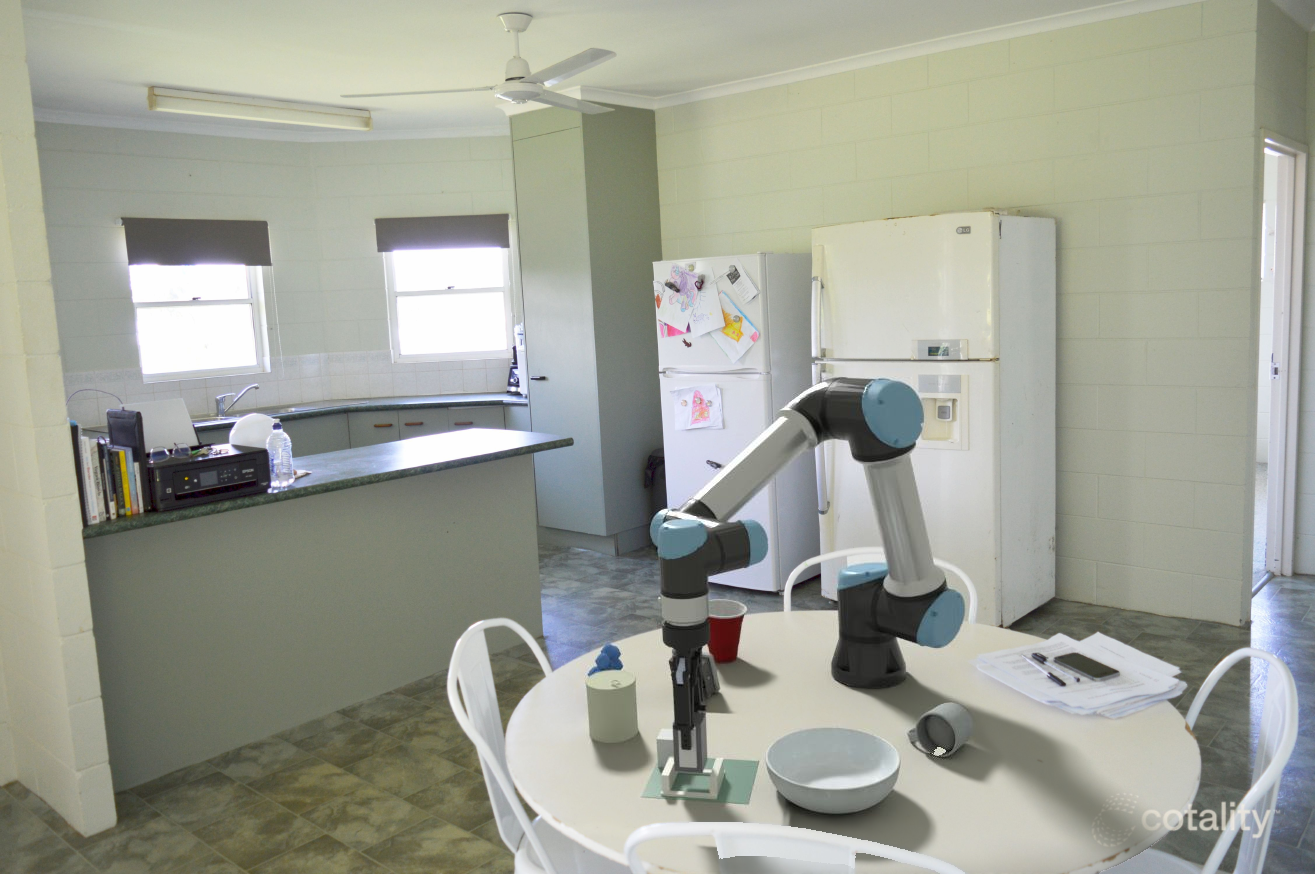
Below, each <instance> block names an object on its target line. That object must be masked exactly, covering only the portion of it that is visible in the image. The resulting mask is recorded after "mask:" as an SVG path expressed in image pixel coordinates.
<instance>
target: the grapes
mask: <svg viewBox="0 0 1315 874" xmlns="http://www.w3.org/2000/svg"><path fill="white" fill-rule="evenodd" d="M621 655H622V653H621V651H620V649H619V648H618V646H616V645H613V644H611V643H607V644H605V645H604V646H603V647H602V649H601V650H600V653H599V654H598V655H597V657H596V659H595V660H594V662H595V665H596V666H593V667H592V668H591V669H590V670H589V671H588V673H587V678H588V677H589V676H591V675H592V674H595V673H598V672H601V671H607V670H622V669H623V667H624V665H623V661H622V660H621V659H620V657H621Z"/></svg>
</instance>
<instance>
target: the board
mask: <svg viewBox="0 0 1315 874" xmlns="http://www.w3.org/2000/svg"><path fill="white" fill-rule="evenodd" d="M759 762H760V761H759V760H752V759H750V760H748V759H735V758H734V759H733V758H732V759H729V758H724V757H716V758H714V757H707V762H706V765H705V768H704V770H703V773H696V772H682V771H675V766H674V755H670V757H669V759H668V761H667V763H666V766H665V768H663V767H658V761H657V762H656V764H655V767H654V768H653V771H651V772H652V773H651V775H650V777H649V780H648V781H647V783H646V786H645V788H644V790H643V792H642V794H641V796H640V798H648V799H650V798H652V799H664V800H666V799H667V800H679V801H680V800H682V801H692V802H696V801H697V802H708V803H709V802H710V803H723V804H724V803H725V804H740V805H741V804H742V805H749V803H750V798H751V795H752V791H753V787H754V783H755V779H756V775H757V771H758V769H759V768H758V766H759V764H760V763H759Z"/></svg>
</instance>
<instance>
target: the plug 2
mask: <svg viewBox="0 0 1315 874" xmlns="http://www.w3.org/2000/svg"><path fill="white" fill-rule="evenodd" d="M674 724H675V722H674V721H673V722H672V726H673V725H674ZM694 727H696V746H697V768H690V767H680V763H679V741H678V730H675V729H673V728H672V729H673V751H674V766H675V771H682V772H696V773H703V770H704V768H705V765H706V762H707V758H708V738H707V736H708V735H707V732H708V731H707V713H706V712H700V711H699V712H694Z"/></svg>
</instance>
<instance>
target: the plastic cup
mask: <svg viewBox="0 0 1315 874" xmlns="http://www.w3.org/2000/svg"><path fill="white" fill-rule="evenodd" d="M709 610H710V615H709V616H708V617H707V618H708V619H709V621H710V641H709V643H708V644H706V645H707V649H708V653H711V654H712V655H713V657H714V662H715V663H719V664H727V663H728V664H729V663H732V662H734V661H736V660H737V657H738V654H739V653H738V652H739V645H740V639H741V633H742V626H743V621H744V618H745V615H746V614H747V612H748V608H747V606H746V605H745V604H743V603H742V602H739V601H735V600H731V599H716V598H715V599H711V600H710V599H709Z"/></svg>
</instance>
